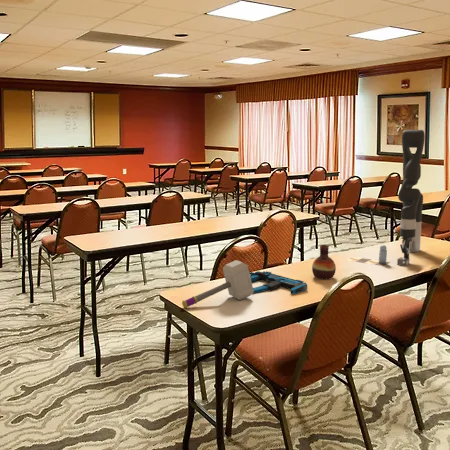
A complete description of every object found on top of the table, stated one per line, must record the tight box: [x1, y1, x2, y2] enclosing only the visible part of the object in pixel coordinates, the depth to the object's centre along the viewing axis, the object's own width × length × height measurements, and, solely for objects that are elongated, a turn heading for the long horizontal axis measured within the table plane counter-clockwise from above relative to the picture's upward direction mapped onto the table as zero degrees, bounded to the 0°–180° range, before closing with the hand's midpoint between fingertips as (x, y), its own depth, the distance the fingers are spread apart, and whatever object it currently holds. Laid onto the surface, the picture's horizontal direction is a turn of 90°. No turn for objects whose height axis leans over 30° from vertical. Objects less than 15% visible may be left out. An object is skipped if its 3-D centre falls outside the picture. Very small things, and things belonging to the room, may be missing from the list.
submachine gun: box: [249, 270, 308, 295], centre depth 242 cm, size 34×4×25 cm
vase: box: [311, 244, 337, 281], centre depth 254 cm, size 11×11×15 cm
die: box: [396, 256, 410, 267], centre depth 272 cm, size 5×5×5 cm
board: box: [347, 256, 391, 267], centre depth 280 cm, size 10×21×1 cm, turn 51°
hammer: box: [181, 259, 255, 309], centre depth 219 cm, size 15×8×30 cm
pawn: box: [378, 244, 388, 265], centre depth 274 cm, size 4×4×10 cm
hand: (406, 260), depth 275 cm, fingers closed
